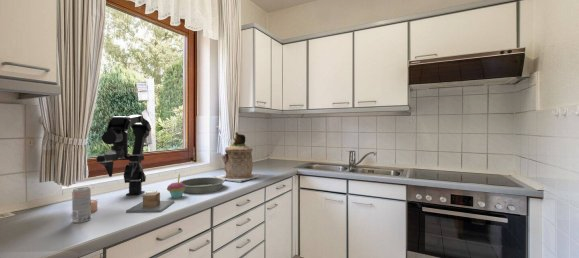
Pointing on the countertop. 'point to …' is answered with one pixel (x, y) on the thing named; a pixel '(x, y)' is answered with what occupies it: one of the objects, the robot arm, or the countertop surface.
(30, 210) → the countertop surface
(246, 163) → the cookie jar
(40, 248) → the countertop surface
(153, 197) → the walnut cube
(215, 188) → the cake pan
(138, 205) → the slate trivet
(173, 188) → the cupcake
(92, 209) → the light brown block
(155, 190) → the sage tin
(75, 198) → the energy drink
